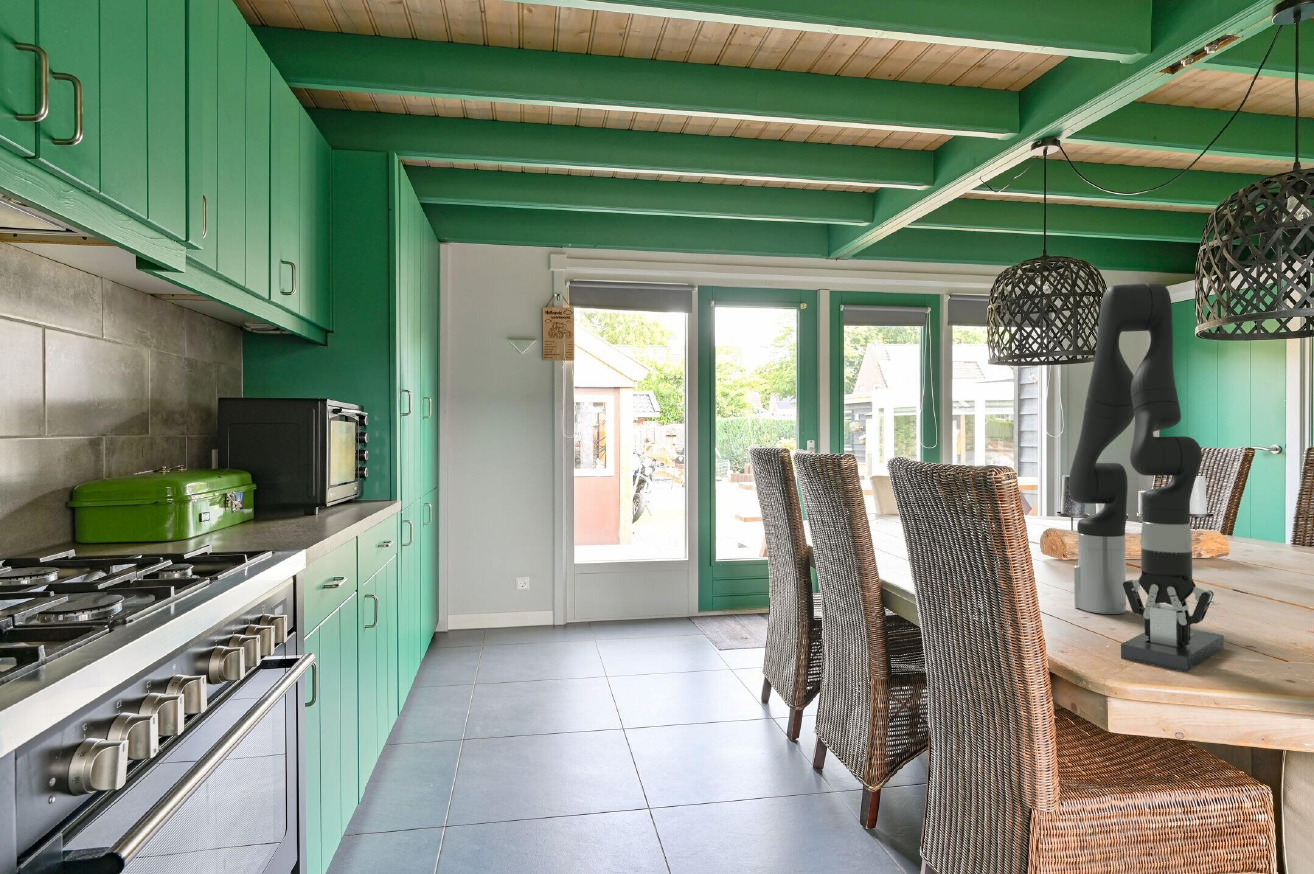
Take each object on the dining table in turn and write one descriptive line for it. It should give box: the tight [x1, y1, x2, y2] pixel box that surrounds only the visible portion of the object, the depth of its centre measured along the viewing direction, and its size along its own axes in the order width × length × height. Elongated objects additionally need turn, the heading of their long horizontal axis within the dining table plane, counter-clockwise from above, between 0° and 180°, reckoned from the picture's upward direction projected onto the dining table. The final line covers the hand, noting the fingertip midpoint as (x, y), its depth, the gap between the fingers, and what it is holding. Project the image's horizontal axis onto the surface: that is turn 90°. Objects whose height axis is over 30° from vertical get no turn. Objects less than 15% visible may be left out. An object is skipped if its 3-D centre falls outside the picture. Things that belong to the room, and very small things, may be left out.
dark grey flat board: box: [1120, 628, 1225, 673], centre depth 133 cm, size 10×20×3 cm, turn 128°
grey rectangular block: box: [1150, 603, 1184, 649], centre depth 131 cm, size 4×4×7 cm
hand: (1167, 641), depth 131 cm, fingers closed on grey rectangular block, 4 cm apart
